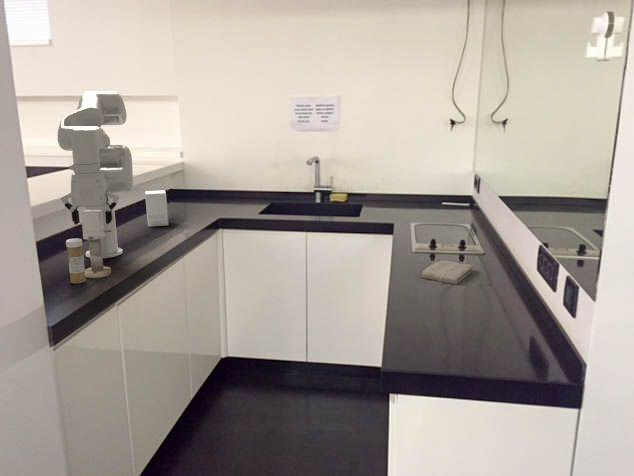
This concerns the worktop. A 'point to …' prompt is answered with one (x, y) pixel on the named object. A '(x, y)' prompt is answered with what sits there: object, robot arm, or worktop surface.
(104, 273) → the post base
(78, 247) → the sprinkles bottle
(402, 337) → the worktop surface
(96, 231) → the coupling cap
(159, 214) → the supplement box
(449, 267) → the washcloth
